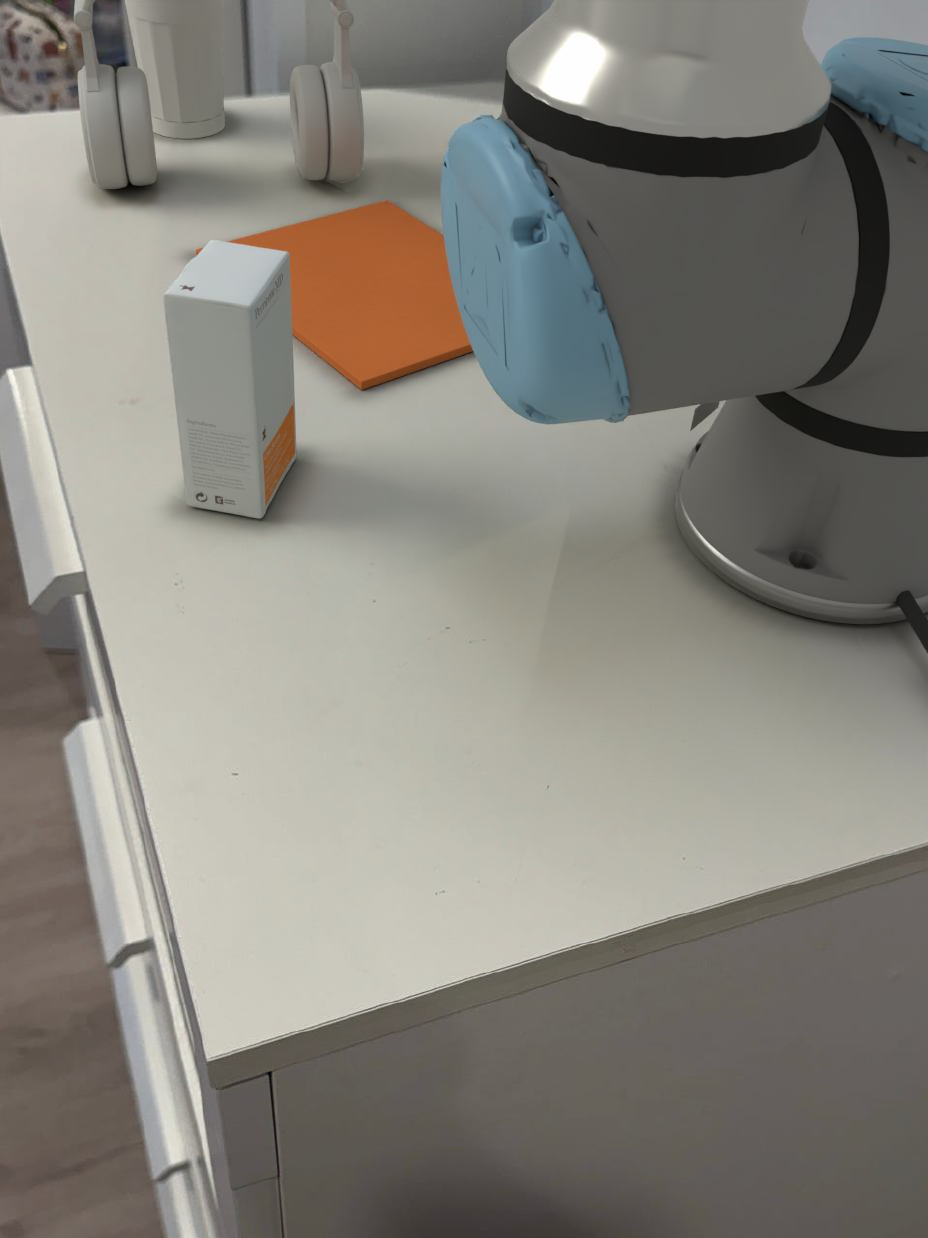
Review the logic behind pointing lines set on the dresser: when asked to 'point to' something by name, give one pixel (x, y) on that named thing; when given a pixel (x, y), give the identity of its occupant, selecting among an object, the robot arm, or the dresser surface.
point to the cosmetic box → (233, 375)
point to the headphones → (124, 121)
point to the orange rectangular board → (370, 292)
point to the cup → (181, 63)
